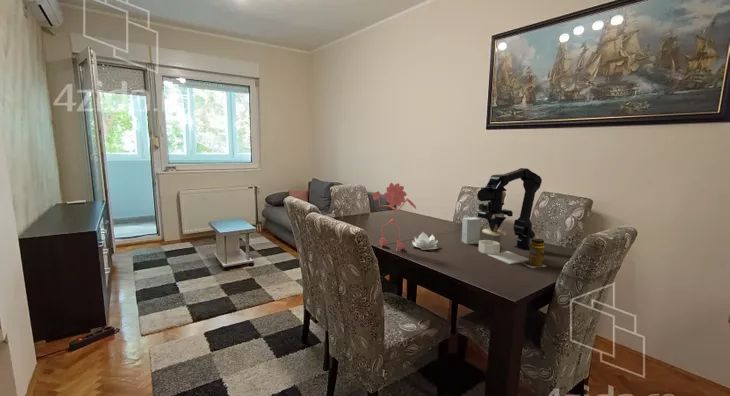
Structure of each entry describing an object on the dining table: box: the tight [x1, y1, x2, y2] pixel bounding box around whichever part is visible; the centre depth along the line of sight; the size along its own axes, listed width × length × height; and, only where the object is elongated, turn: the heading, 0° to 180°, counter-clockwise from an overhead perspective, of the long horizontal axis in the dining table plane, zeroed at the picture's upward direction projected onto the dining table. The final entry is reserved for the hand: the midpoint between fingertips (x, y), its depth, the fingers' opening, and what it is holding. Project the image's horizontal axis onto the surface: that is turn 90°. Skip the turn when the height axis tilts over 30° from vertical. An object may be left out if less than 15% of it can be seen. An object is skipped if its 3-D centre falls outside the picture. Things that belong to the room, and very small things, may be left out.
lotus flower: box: [411, 231, 439, 251], centre depth 177 cm, size 14×15×9 cm
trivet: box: [486, 250, 529, 265], centre depth 164 cm, size 14×14×1 cm
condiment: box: [520, 237, 547, 269], centre depth 154 cm, size 7×8×12 cm
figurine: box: [372, 182, 417, 252], centre depth 175 cm, size 15×26×35 cm, turn 57°
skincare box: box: [461, 216, 482, 245], centre depth 187 cm, size 8×6×15 cm
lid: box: [481, 224, 507, 237], centre depth 169 cm, size 12×12×4 cm
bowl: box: [478, 239, 501, 255], centre depth 173 cm, size 10×10×5 cm
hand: (494, 230), depth 169 cm, fingers closed on lid, 3 cm apart
